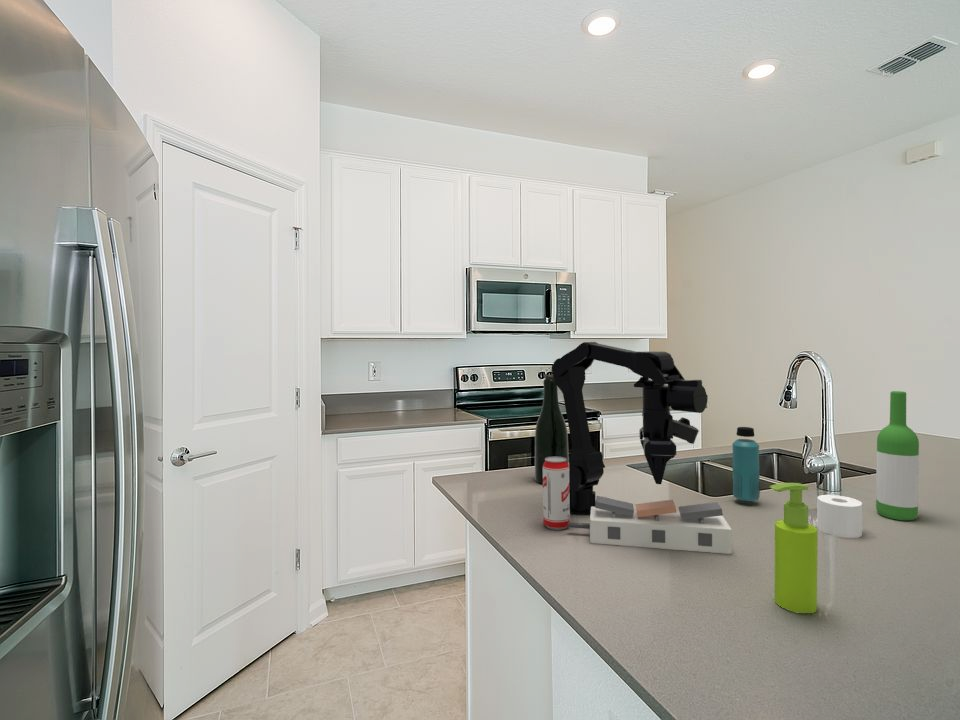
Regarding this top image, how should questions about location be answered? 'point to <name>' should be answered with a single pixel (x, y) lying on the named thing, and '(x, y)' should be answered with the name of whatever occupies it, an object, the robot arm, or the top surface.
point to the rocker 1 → (614, 506)
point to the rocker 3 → (700, 511)
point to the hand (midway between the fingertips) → (656, 478)
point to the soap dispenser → (795, 554)
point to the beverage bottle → (746, 466)
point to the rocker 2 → (655, 508)
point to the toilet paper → (839, 516)
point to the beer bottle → (550, 429)
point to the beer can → (556, 493)
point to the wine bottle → (897, 465)
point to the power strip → (659, 531)
